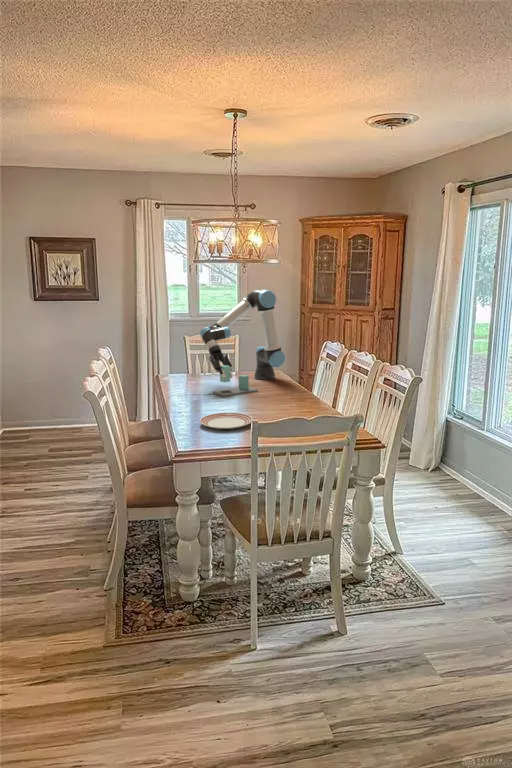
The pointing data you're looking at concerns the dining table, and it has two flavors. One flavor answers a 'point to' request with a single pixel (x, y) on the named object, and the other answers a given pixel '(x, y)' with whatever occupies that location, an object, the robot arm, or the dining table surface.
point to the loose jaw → (227, 373)
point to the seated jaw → (243, 382)
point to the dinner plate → (226, 420)
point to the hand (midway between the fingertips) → (228, 377)
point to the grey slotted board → (233, 391)
